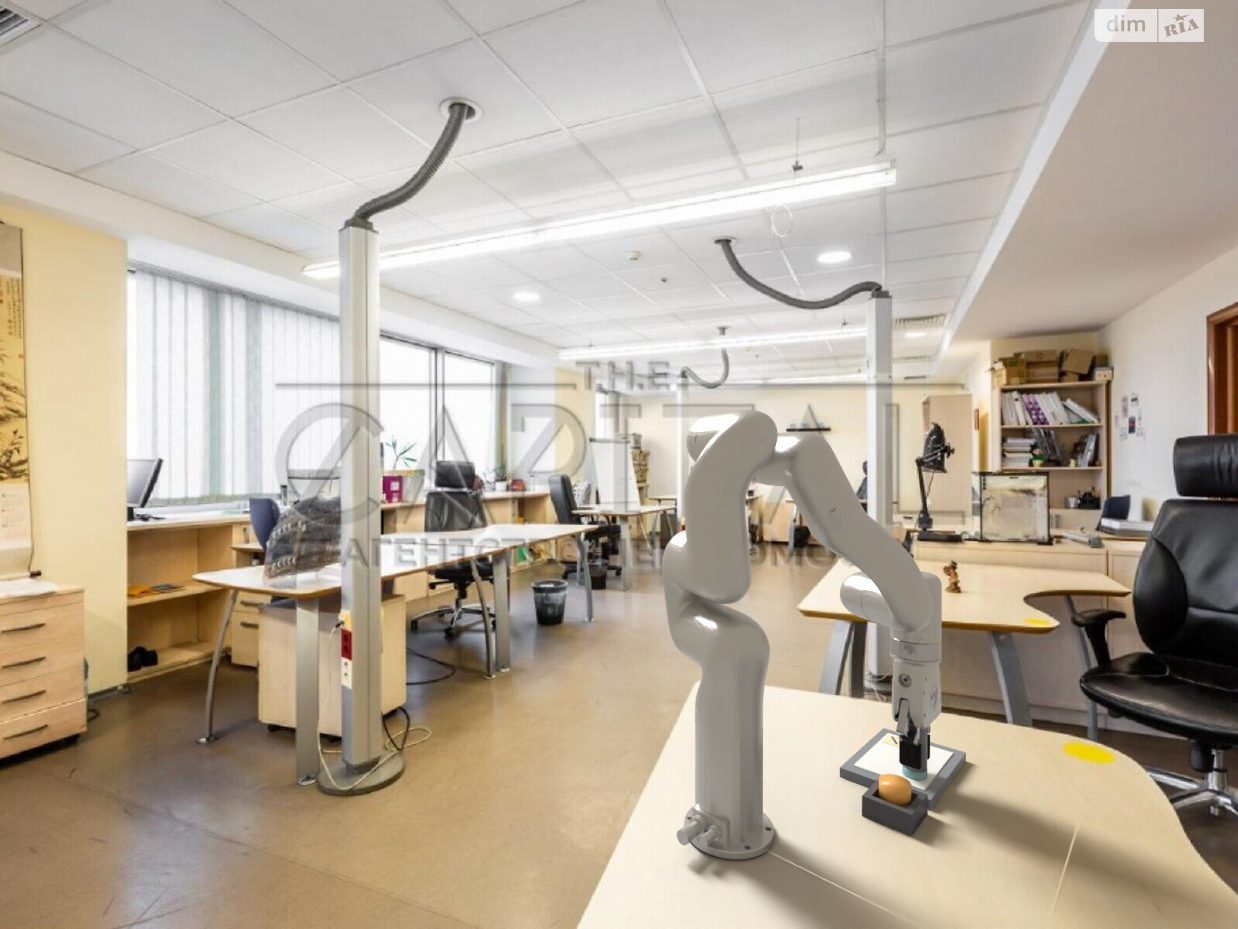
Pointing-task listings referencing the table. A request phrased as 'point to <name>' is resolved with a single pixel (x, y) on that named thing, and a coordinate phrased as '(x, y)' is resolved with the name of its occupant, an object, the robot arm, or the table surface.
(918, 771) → the marker
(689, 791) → the table surface
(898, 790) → the button
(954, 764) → the drawing board
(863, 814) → the button housing
